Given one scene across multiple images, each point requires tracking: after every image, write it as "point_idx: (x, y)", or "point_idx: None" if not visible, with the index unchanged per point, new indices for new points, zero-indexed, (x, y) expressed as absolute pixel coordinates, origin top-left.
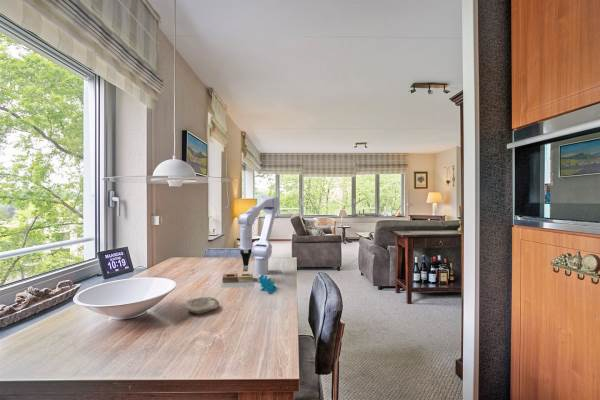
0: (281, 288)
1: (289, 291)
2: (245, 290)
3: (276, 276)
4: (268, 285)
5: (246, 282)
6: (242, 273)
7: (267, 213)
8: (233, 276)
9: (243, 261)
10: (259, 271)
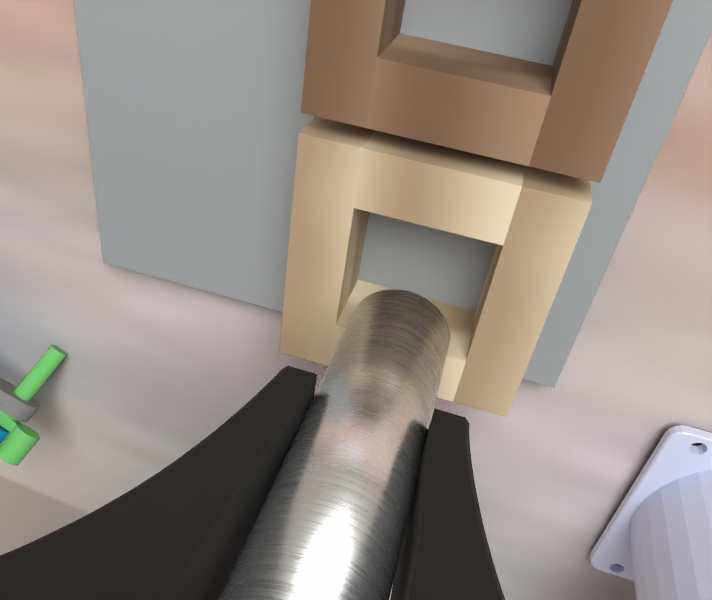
0: (88, 455)
1: (9, 466)
2: (14, 125)
3: (534, 595)
4: None
5: (286, 219)
6: (559, 269)
7: None
8: (375, 42)
9: (226, 432)
10: (664, 535)
